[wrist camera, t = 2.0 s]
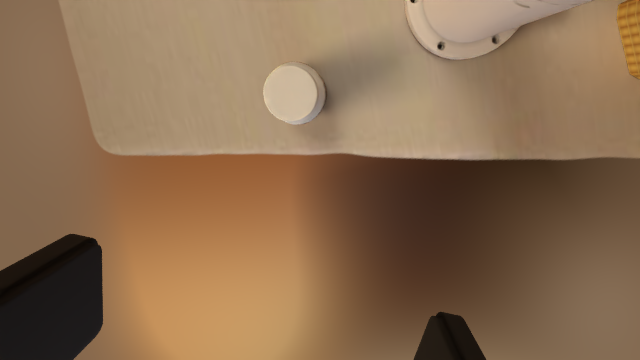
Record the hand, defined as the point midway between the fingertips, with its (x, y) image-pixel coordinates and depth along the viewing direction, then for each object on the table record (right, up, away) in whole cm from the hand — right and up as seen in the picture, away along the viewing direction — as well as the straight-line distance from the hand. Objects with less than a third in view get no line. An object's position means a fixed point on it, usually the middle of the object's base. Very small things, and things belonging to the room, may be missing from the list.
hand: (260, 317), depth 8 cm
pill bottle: (0, +14, +26) cm, 30 cm away
